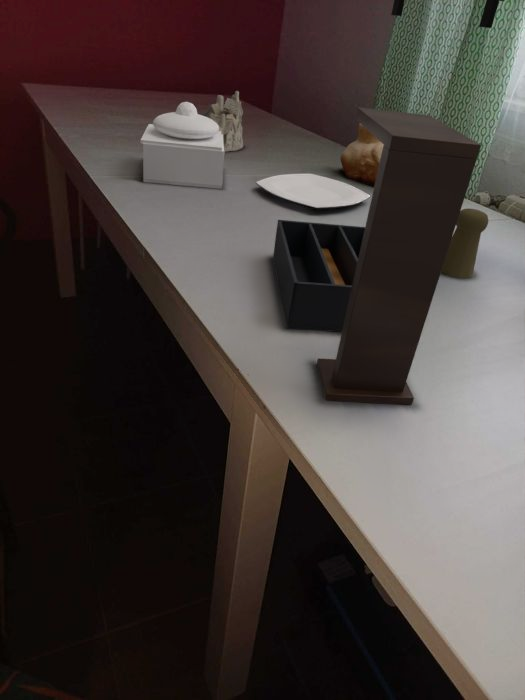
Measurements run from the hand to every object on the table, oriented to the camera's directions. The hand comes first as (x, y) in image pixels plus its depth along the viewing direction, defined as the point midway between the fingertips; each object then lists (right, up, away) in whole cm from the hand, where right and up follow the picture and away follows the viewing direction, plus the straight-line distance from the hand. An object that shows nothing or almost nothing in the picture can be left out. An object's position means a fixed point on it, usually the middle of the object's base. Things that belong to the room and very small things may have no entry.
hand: (441, 21), depth 78 cm
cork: (+8, -34, +18) cm, 39 cm away
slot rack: (-16, -39, +4) cm, 42 cm away
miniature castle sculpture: (-40, +12, +79) cm, 89 cm away
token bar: (-16, -38, +4) cm, 41 cm away
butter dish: (-45, -6, +49) cm, 67 cm away
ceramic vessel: (+6, -4, +64) cm, 64 cm away
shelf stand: (-15, -49, -11) cm, 53 cm away
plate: (-15, -13, +46) cm, 50 cm away
